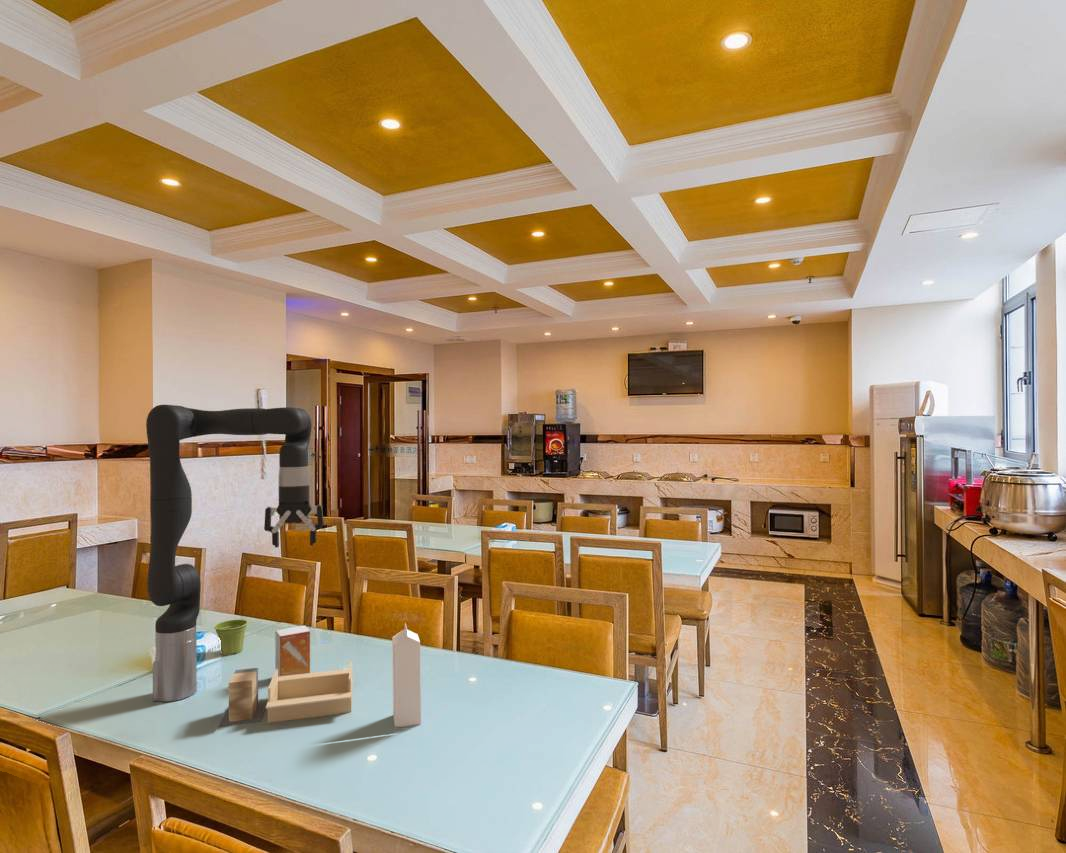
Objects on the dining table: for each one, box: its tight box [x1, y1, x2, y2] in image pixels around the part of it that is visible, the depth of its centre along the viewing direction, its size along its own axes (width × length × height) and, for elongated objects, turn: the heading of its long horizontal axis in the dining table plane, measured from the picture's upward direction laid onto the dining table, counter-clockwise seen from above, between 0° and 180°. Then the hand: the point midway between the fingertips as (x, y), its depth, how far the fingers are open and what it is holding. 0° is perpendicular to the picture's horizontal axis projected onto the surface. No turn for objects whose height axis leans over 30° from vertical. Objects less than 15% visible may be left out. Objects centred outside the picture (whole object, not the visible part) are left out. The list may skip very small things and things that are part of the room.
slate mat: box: [217, 700, 268, 728], centre depth 145 cm, size 9×11×1 cm
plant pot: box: [213, 619, 249, 656], centre depth 188 cm, size 9×9×9 cm
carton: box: [265, 660, 354, 724], centre depth 149 cm, size 19×18×8 cm
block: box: [228, 667, 259, 722], centre depth 145 cm, size 5×8×9 cm, turn 15°
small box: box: [274, 624, 311, 677], centre depth 167 cm, size 8×6×13 cm
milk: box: [391, 622, 422, 728], centre depth 141 cm, size 6×6×22 cm
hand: (294, 546), depth 158 cm, fingers open, 8 cm apart
